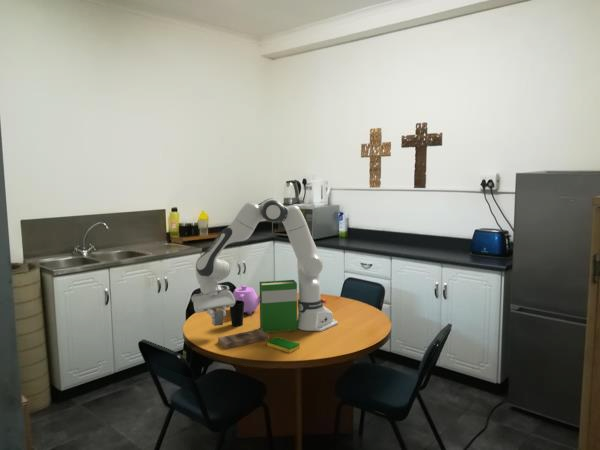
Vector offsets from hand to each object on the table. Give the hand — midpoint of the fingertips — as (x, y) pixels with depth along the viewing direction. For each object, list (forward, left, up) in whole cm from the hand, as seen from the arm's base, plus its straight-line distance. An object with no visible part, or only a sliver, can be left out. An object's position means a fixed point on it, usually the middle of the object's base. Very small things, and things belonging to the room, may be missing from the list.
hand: (219, 316), depth 220 cm
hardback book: (-30, +7, -11) cm, 32 cm away
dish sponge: (-18, +28, -11) cm, 35 cm away
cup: (-16, -11, -11) cm, 22 cm away
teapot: (-31, -25, -11) cm, 41 cm away
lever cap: (0, -1, -4) cm, 4 cm away
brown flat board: (-7, +10, -11) cm, 16 cm away
